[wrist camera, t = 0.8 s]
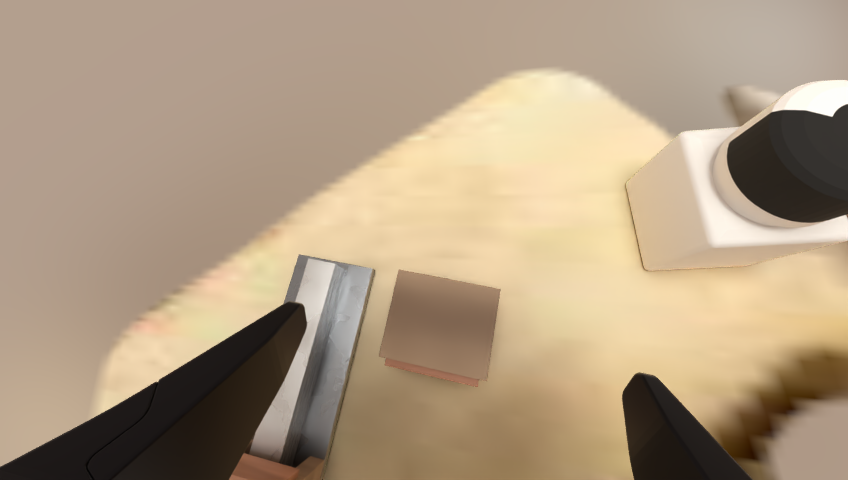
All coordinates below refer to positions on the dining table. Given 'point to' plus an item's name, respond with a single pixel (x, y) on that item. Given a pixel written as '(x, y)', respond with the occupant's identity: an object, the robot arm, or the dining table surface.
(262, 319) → the robot arm
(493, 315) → the block
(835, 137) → the medicine bottle
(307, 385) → the rail
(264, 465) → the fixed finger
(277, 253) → the dining table surface
